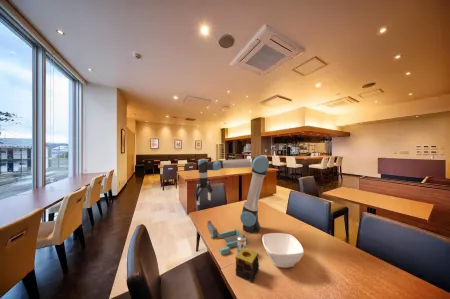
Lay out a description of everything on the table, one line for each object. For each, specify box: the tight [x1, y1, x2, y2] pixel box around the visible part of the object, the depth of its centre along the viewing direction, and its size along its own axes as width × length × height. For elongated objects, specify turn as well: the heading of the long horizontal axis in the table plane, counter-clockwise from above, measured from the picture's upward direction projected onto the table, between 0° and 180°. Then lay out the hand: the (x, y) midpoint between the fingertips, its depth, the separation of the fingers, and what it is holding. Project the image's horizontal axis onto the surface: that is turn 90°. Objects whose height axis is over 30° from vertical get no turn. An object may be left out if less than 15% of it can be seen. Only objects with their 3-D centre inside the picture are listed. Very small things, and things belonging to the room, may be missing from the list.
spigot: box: [236, 234, 247, 254], centre depth 102 cm, size 6×6×10 cm
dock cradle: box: [210, 229, 242, 256], centre depth 115 cm, size 21×23×3 cm
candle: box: [234, 247, 260, 283], centre depth 85 cm, size 10×10×10 cm
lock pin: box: [206, 219, 218, 239], centre depth 129 cm, size 3×17×7 cm, turn 23°
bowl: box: [261, 232, 305, 268], centre depth 93 cm, size 22×22×12 cm
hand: (204, 202), depth 132 cm, fingers open, 13 cm apart
